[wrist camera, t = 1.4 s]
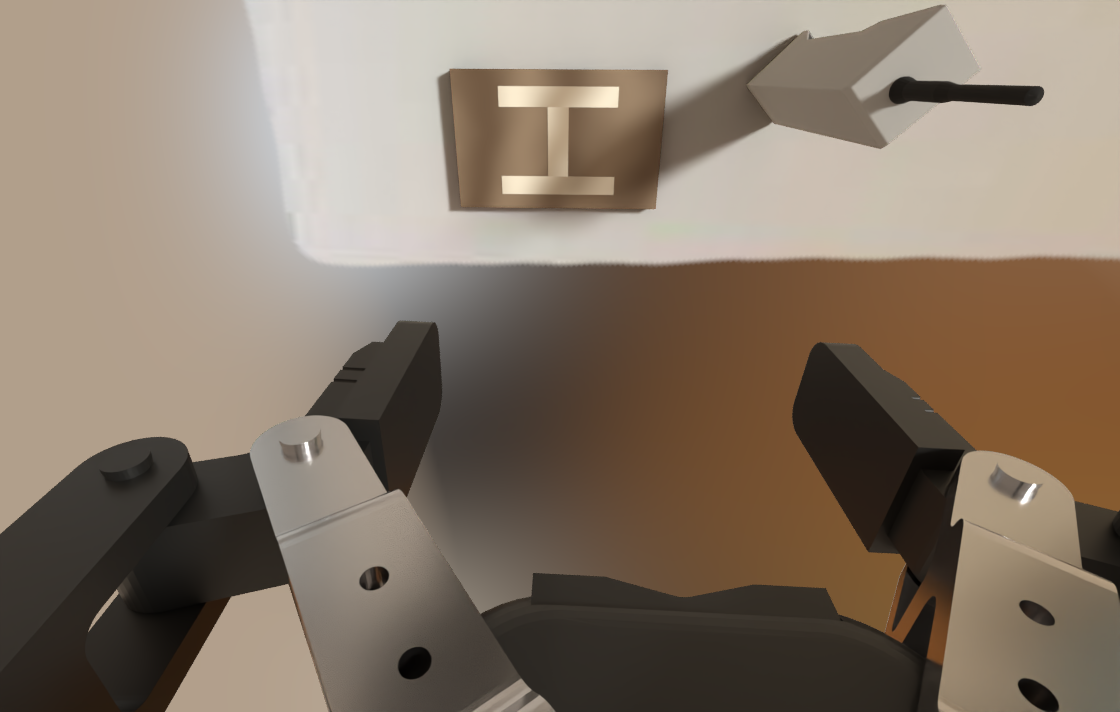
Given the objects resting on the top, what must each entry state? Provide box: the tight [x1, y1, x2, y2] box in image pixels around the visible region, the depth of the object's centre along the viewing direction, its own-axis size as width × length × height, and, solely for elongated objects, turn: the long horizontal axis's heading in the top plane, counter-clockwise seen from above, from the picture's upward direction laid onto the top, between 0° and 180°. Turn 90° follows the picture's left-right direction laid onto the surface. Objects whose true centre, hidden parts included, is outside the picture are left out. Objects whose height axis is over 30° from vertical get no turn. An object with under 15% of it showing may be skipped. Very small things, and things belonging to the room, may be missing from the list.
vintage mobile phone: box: [746, 5, 1044, 149], centre depth 28 cm, size 4×5×25 cm
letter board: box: [450, 69, 668, 209], centre depth 41 cm, size 16×10×1 cm, turn 90°
